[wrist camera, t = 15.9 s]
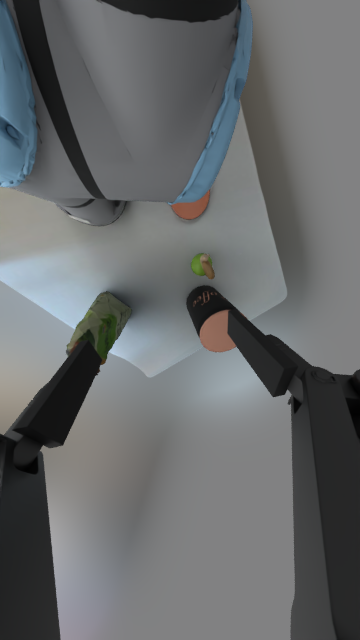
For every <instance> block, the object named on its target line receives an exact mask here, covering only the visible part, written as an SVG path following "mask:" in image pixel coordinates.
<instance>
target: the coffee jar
mask: <svg viewBox="0 0 360 640" xmlns="http://www.w3.org/2000/svg"><path fill="white" fill-rule="evenodd" d="M186 304H187V309H188V311H189V314H190V316H191V319H192V321H193V324H194V326H195V329H196V331H197V334H198V336H199V337H200V340H201V343H202V345H203V346H204V347H205V348H206V349H208V350H209V351H213V352H224V351H228V350H231V349H233V348H235V347H236V345H235V343H234V342H233V341H232V339H231V338H230V337H229V335H228V334H227V329H228V311H229V310H233V309H237V308H236V307H234V306H233V305H232V304H231V303H230V302H229V301H228V300H227V299H226V298H224V297H223V296H222V295H221V294H220V293H219V292H218V291H217V290H216V289H214V288H213V287H211V286H200V287H197V288H195V289H194V290H193V291H192V292H191V293H190V294H189V296H188V298H187V303H186ZM237 310H238V309H237ZM238 311H239V310H238ZM239 312H240V311H239ZM240 313H241V312H240ZM241 314H242V313H241ZM242 315H243V314H242ZM243 316H244V315H243ZM244 317H245V316H244ZM245 318H246V317H245Z"/></svg>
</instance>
